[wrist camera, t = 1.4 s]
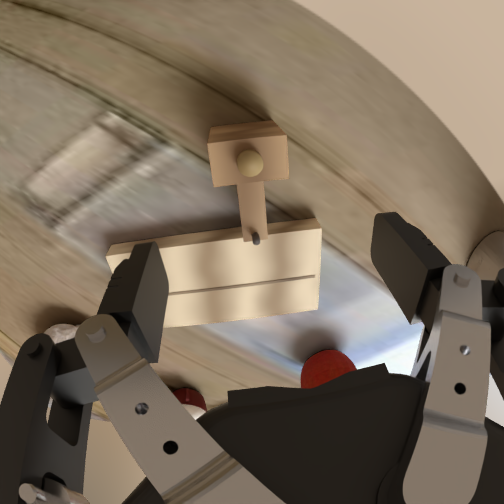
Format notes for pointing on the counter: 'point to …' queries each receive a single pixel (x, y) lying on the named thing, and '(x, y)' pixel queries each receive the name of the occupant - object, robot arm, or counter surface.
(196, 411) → the cocoa
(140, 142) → the counter surface
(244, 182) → the block
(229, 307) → the board
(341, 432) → the robot arm
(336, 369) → the apple
